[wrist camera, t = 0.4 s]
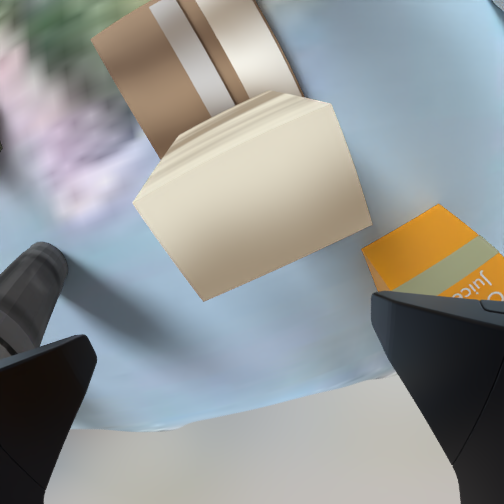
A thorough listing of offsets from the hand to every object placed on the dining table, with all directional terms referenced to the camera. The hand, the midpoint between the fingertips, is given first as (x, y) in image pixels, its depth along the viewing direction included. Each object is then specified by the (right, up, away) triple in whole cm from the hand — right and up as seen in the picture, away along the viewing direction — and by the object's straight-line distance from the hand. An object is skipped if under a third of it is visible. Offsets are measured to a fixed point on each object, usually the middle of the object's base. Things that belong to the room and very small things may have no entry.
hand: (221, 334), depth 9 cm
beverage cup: (-17, +1, +15) cm, 23 cm away
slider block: (+1, +10, +9) cm, 13 cm away
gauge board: (-1, +11, +11) cm, 16 cm away
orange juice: (+16, +2, +18) cm, 24 cm away
